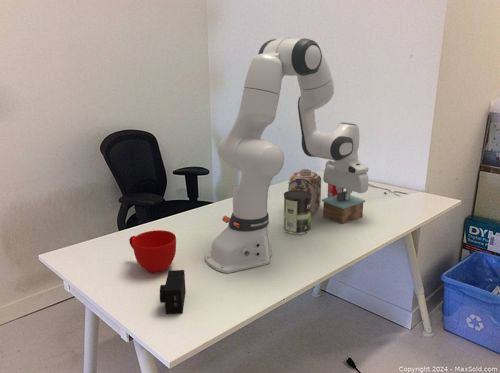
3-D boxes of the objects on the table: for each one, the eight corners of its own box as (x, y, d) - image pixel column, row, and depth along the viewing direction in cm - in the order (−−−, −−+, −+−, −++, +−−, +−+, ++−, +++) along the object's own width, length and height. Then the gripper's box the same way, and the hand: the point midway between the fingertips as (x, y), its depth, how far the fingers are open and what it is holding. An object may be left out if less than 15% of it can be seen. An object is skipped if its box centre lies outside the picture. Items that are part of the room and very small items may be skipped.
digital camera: (165, 292, 113) (164, 270, 111) (185, 291, 113) (184, 269, 111) (160, 315, 103) (158, 290, 101) (182, 313, 103) (181, 289, 101)
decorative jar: (314, 217, 166) (316, 174, 161) (287, 213, 170) (287, 172, 165) (320, 207, 177) (322, 167, 171) (294, 204, 181) (295, 165, 175)
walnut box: (341, 225, 157) (342, 208, 155) (322, 218, 165) (323, 201, 163) (362, 218, 164) (363, 202, 162) (343, 211, 172) (344, 196, 169)
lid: (342, 211, 155) (343, 199, 153) (321, 203, 163) (322, 192, 162) (364, 204, 162) (365, 192, 160) (343, 197, 170) (344, 186, 169)
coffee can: (311, 225, 158) (312, 190, 154) (309, 235, 149) (310, 199, 144) (284, 223, 160) (285, 189, 156) (281, 233, 151) (282, 197, 146)
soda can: (345, 199, 186) (346, 174, 183) (339, 204, 181) (341, 178, 177) (330, 197, 190) (331, 172, 186) (324, 201, 184) (326, 176, 181)
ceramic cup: (146, 252, 137) (144, 224, 134) (186, 264, 128) (184, 235, 125) (116, 269, 126) (113, 239, 123) (158, 283, 118) (155, 251, 115)
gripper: (320, 160, 164) (319, 193, 168) (361, 171, 148) (358, 206, 152) (331, 158, 167) (329, 190, 172) (372, 168, 152) (369, 203, 156)
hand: (343, 198), depth 162 cm, fingers closed on lid
